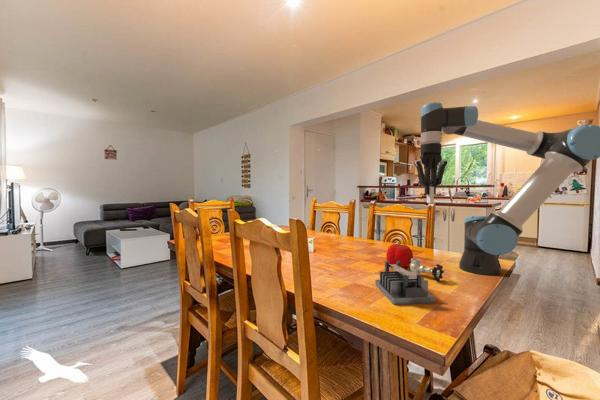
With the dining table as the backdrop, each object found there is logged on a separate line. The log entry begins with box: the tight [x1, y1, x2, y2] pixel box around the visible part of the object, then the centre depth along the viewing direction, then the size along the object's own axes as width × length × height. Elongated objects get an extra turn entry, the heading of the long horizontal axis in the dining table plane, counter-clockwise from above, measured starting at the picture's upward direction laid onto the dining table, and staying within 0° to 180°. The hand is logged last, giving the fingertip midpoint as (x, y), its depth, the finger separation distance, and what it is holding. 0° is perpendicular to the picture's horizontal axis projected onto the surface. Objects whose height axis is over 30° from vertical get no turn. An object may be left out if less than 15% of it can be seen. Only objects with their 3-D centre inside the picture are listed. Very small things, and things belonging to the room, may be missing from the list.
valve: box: [409, 257, 445, 283], centre depth 111 cm, size 7×7×12 cm
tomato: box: [385, 243, 414, 269], centre depth 126 cm, size 12×12×10 cm
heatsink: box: [374, 260, 436, 306], centre depth 95 cm, size 18×13×8 cm
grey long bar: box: [389, 264, 417, 279], centre depth 95 cm, size 16×3×2 cm, turn 3°
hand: (430, 202), depth 112 cm, fingers closed
